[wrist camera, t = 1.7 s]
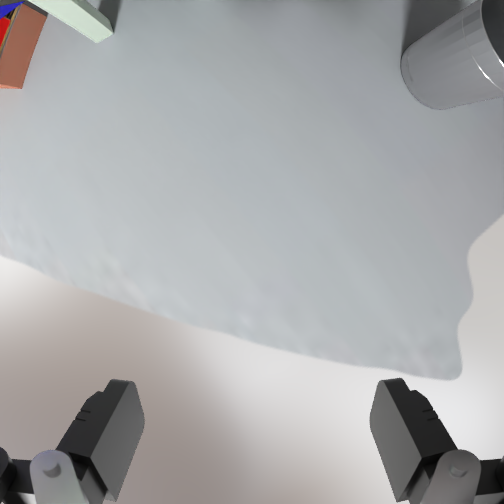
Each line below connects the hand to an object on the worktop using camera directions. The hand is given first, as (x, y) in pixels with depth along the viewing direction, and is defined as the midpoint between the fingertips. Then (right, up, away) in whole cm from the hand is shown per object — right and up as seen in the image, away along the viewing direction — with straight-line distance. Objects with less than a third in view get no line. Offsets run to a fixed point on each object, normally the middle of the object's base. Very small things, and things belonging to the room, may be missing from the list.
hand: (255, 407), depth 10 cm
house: (-40, +36, +21) cm, 58 cm away
